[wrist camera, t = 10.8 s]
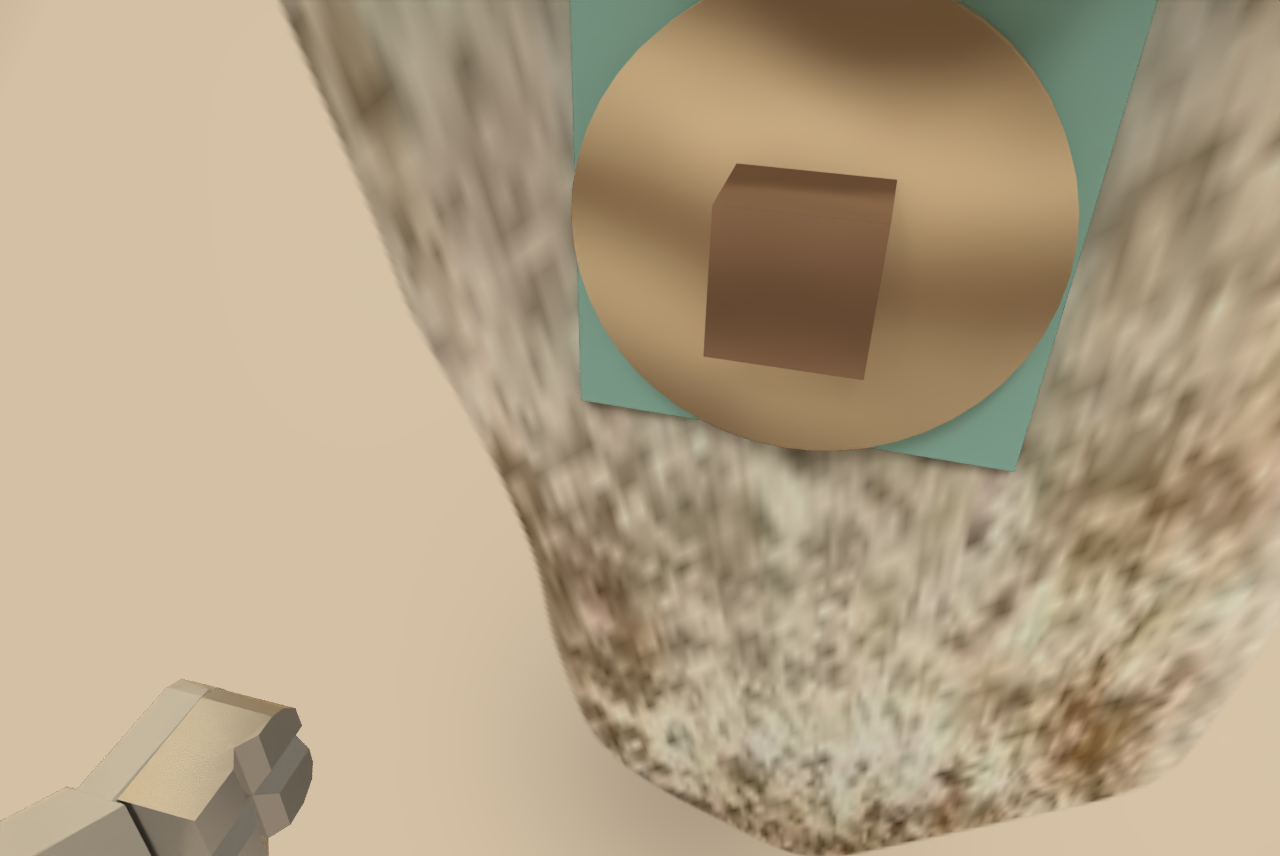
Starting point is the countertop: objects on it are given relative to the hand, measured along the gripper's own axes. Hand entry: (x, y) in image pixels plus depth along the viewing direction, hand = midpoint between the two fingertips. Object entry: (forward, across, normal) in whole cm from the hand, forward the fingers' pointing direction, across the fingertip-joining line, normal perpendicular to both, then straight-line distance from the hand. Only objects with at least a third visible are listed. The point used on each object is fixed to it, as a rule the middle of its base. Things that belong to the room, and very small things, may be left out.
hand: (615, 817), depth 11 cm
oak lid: (+18, 0, 0) cm, 18 cm away
